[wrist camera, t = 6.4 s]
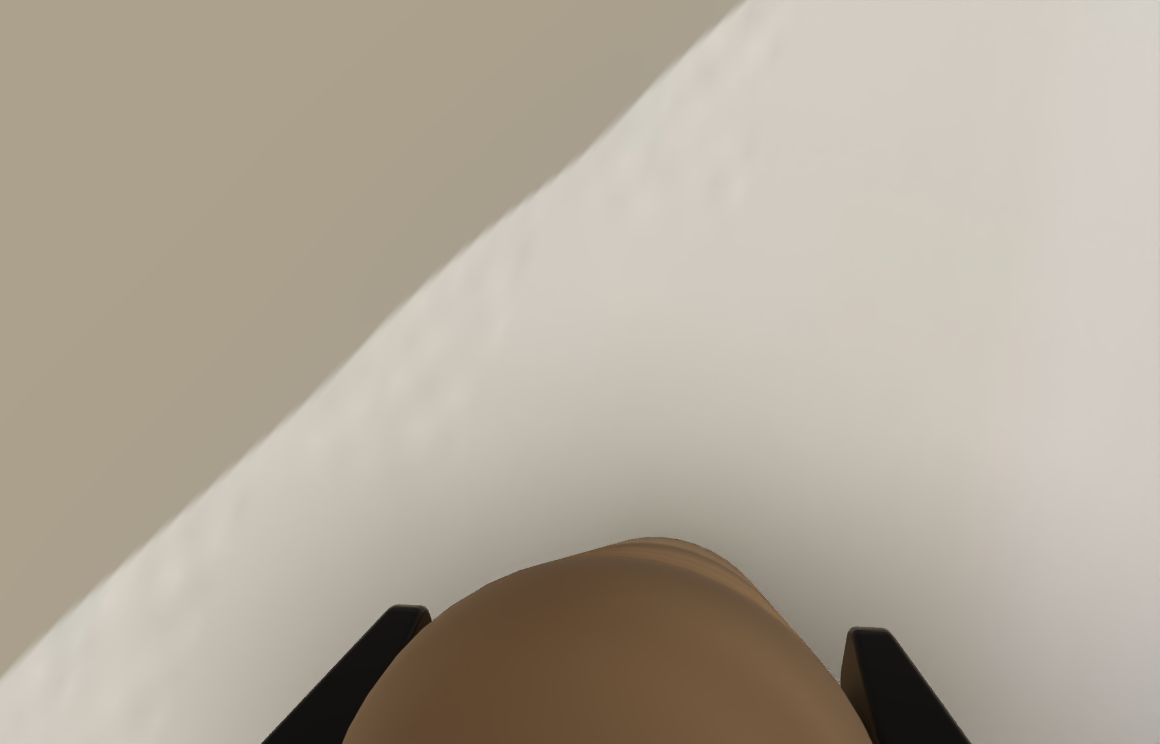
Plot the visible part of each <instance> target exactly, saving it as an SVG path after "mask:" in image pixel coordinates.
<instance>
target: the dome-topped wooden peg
mask: <svg viewBox="0 0 1160 744" xmlns="http://www.w3.org/2000/svg"><path fill="white" fill-rule="evenodd" d="M342 744H872V741H871V739H870V737H869V735H868V733H867V731H866V729H865V727H864V725H863V723H862V721H861V719H860V717H859V716H858V714H857V713H856V711H855V709H854V708H853V706H852V705H851V703H850V701H849V700H848V698H847V696H846V695H845V693H844V692H843V690H842V688H841V687H840V685H839V684H838V683H837V681H836V680H835V679H834V678H833V676H832V675H831V674H830V673H829V671H828V670H827V669H826V668H825V666H824V665H823V664H822V663H821V661H820V660H819V659H818V658H817V656H816V655H815V654H814V653H813V652H812V651H811V649H810V648H809V647H808V646H807V645H806V644H805V643H804V642H803V640H802V639H801V638H800V637H799V636H798V635H797V634H796V632H795V631H794V630H793V629H792V628H791V627H790V626H789V625H788V623H787V622H786V621H785V620H784V619H783V618H782V617H781V616H780V614H779V613H778V612H777V611H776V610H775V609H774V608H773V607H772V605H771V604H770V603H769V602H768V601H767V600H766V599H765V597H764V596H763V595H762V594H761V593H760V592H759V591H758V590H757V588H756V587H755V586H754V585H753V584H752V583H751V582H750V581H749V580H748V579H747V578H746V577H745V576H744V575H743V574H742V573H741V572H740V571H739V570H738V569H737V568H736V567H735V566H733V565H732V564H731V563H729V562H728V561H727V560H725V559H724V558H722V557H720V556H719V555H717V554H715V553H713V552H712V551H710V550H708V549H705V548H703V547H701V546H698V545H696V544H693V543H689V542H685V541H682V540H678V539H670V538H662V537H654V538H639V539H632V540H628V541H624V542H620V543H617V544H613V545H609V546H606V547H602V548H599V549H595V550H591V551H588V552H584V553H580V554H577V555H573V556H570V557H566V558H562V559H559V560H555V561H551V562H548V563H544V564H541V565H537V566H533V567H530V568H526V569H523V570H519V571H517V572H515V573H512V574H510V575H508V576H505V577H503V578H501V579H498V580H496V581H494V582H491V583H489V584H487V585H485V586H484V587H482V588H480V589H479V590H477V591H475V592H474V593H472V594H470V595H469V596H467V597H465V598H464V599H462V600H460V601H459V602H457V603H456V604H454V605H452V606H451V607H449V608H448V609H447V610H446V611H444V612H443V613H442V614H440V615H439V616H438V617H437V618H435V619H434V620H433V621H432V622H430V623H429V624H428V625H427V626H425V627H424V628H423V629H422V630H421V631H420V632H419V633H418V634H417V635H416V636H415V637H414V638H413V639H412V640H411V641H410V642H409V643H408V644H407V645H406V646H405V647H404V648H403V650H402V651H401V652H400V653H399V654H398V655H397V656H396V657H395V659H394V660H393V661H392V663H391V664H390V665H389V667H388V668H387V669H386V671H385V672H384V673H383V675H382V676H381V677H380V679H379V680H378V681H377V683H376V684H375V686H374V687H373V688H372V690H371V691H370V692H369V694H368V695H367V697H366V699H365V700H364V702H363V704H362V706H361V707H360V709H359V711H358V713H357V714H356V716H355V718H354V720H353V721H352V723H351V725H350V727H349V729H348V731H347V733H346V736H345V738H344V741H343V743H342Z"/></svg>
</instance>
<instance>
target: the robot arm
mask: <svg viewBox="0 0 1160 744" xmlns="http://www.w3.org/2000/svg"><path fill="white" fill-rule="evenodd" d="M430 622H432V620H431V617H430V613H429V611H428V609H427V608H426V607H424V606H421V605H401V604H399V605H394V606H392V607H391V608H389V609H388V610H387V611H386V612H385V613H384V614H383V615H382V616H381V617H380V618H379V619H378V620H377V621H376V623H375V624H374V625H373V626H372V627H371V628H370V629H369V630H368V631H367V632H366V633H365V634H364V635H363V636H362V637H361V638H360V639H359V641H358V642H357V643H356V644H355V645H354V646H353V647H352V648H351V649H350V650H349V651H348V652H347V653H346V654H345V655H344V656H343V657H342V659H341V660H340V661H339V662H338V663H337V664H336V665H335V666H334V667H333V668H332V669H331V670H330V671H329V672H328V673H327V674H326V676H325V677H324V678H323V679H322V680H321V681H320V682H319V683H318V684H317V685H316V686H315V687H314V688H313V689H312V690H311V691H310V692H309V694H308V695H307V696H306V697H305V698H304V699H303V700H302V701H301V702H300V703H299V704H298V705H297V706H296V707H295V708H294V709H293V710H292V712H291V713H290V714H289V715H288V716H287V717H286V718H285V719H284V720H283V721H282V722H281V723H280V724H279V725H278V726H277V727H276V729H275V730H274V731H273V732H272V733H271V734H270V735H269V736H268V737H267V738H266V739H265V740H264V741H263V742H262V743H261V744H342V743H343V741H344V738H345V736H346V733H347V731H348V729H349V727H350V725H351V723H352V721H353V720H354V718H355V716H356V714H357V713H358V711H359V709H360V707H361V706H362V704H363V702H364V700H365V699H366V697H367V695H368V694H369V692H370V691H371V690H372V688H373V687H374V686H375V684H376V683H377V681H378V680H379V679H380V677H381V676H382V675H383V673H384V672H385V671H386V669H387V668H388V667H389V665H390V664H391V663H392V661H393V660H394V659H395V657H396V656H397V655H398V654H399V653H400V652H401V651H402V650H403V648H404V647H405V646H406V645H407V644H408V643H409V642H410V641H411V640H412V639H413V638H414V637H415V636H416V635H417V634H418V633H419V632H420V631H421V630H422V629H423V628H424V627H425V626H427V625H428V624H429V623H430ZM841 688H842V690H843V692H844V693H845V695H846V696H847V698H848V700H849V701H850V703H851V705H852V706H853V708H854V709H855V711H856V713H857V714H858V716H859V717H860V719H861V721H862V723H863V725H864V727H865V729H866V731H867V733H868V735H869V737H870V739H871V741H872V744H971V743H970V741H969V740H968V738H967V737H966V736H965V734H964V733H963V732H962V730H961V729H960V727H959V726H958V725H957V723H956V722H955V720H954V719H953V718H952V716H951V715H950V714H949V712H948V711H947V709H946V708H945V707H944V705H943V704H942V702H941V701H940V700H939V698H938V697H937V696H936V694H935V693H934V691H933V690H932V689H931V687H930V686H929V684H928V683H927V682H926V680H925V679H924V678H923V676H922V675H921V673H920V672H919V671H918V669H917V668H916V666H915V665H914V664H913V662H912V661H911V660H910V658H909V657H908V655H907V654H906V653H905V651H904V650H903V648H902V647H901V646H900V644H899V643H898V642H897V640H896V639H895V637H894V636H893V635H892V634H891V633H890V632H889V631H888V630H886V629H884V628H875V627H852V628H851V629H850V630H849V632H848V634H847V639H846V645H845V651H844V657H843V663H842V669H841Z"/></svg>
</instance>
